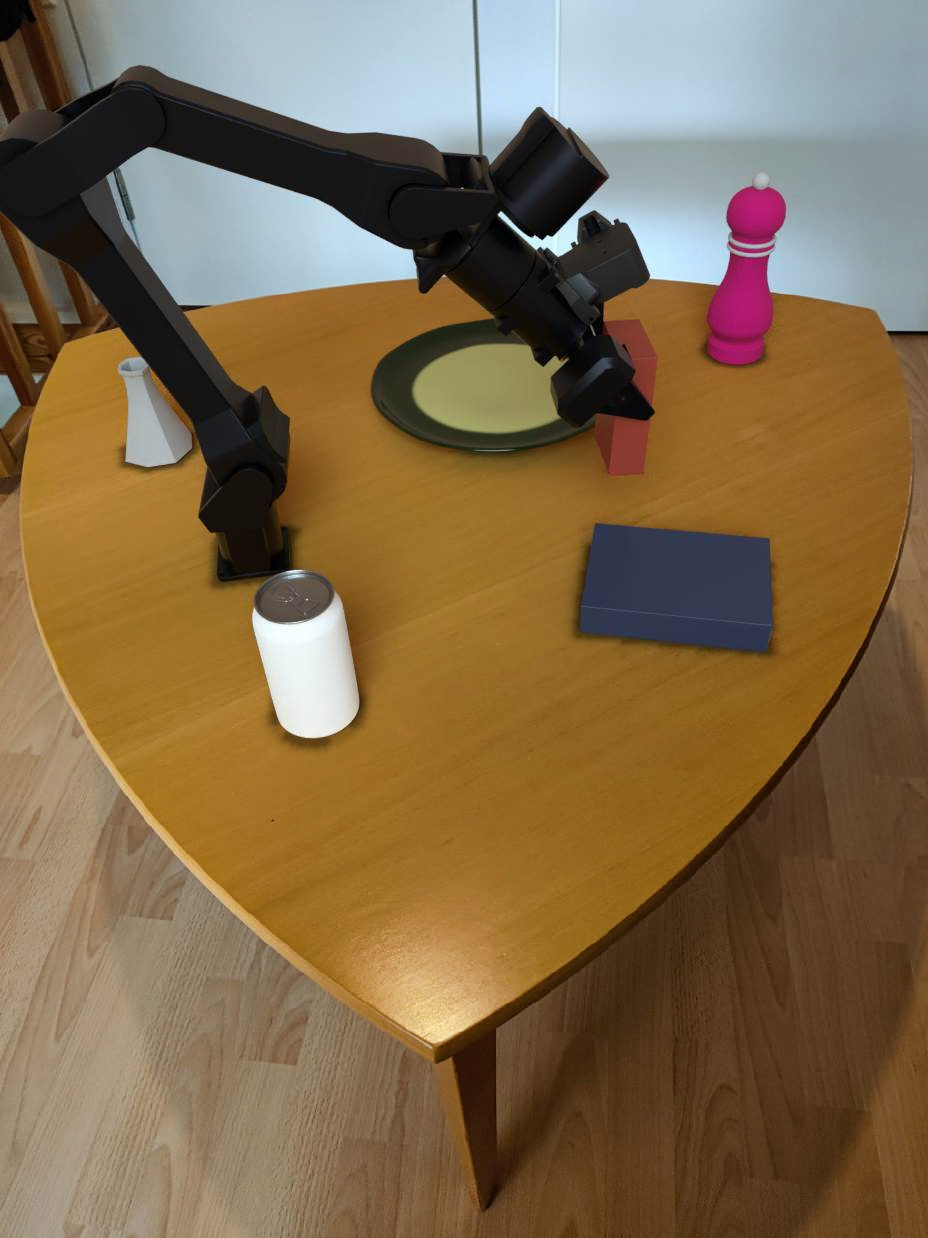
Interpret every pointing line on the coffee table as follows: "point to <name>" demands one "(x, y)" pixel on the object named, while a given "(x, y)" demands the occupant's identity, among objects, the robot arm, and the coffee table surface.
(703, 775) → the coffee table surface
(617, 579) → the navy hardcover
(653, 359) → the red rectangular block
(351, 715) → the can
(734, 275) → the pepper mill
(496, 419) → the plate
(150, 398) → the flask
